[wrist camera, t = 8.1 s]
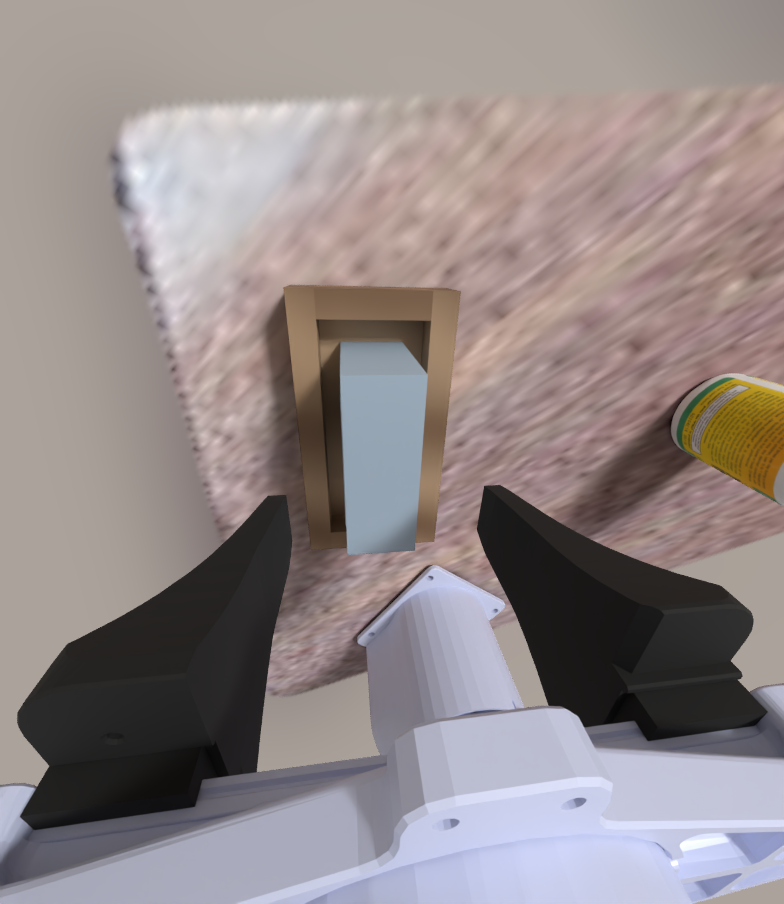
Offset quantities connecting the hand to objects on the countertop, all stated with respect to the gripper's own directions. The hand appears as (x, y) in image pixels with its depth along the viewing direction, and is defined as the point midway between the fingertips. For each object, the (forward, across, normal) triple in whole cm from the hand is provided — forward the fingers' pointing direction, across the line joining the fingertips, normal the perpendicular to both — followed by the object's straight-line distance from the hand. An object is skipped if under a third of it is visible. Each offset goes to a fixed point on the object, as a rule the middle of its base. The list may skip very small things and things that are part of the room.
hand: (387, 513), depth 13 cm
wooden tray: (+8, 0, 0) cm, 8 cm away
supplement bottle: (+8, -21, 0) cm, 23 cm away
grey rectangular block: (+8, 0, -1) cm, 8 cm away
